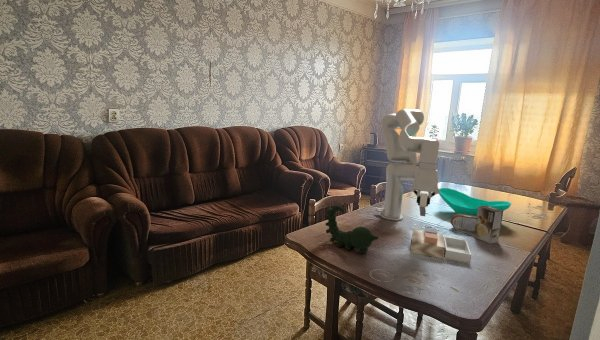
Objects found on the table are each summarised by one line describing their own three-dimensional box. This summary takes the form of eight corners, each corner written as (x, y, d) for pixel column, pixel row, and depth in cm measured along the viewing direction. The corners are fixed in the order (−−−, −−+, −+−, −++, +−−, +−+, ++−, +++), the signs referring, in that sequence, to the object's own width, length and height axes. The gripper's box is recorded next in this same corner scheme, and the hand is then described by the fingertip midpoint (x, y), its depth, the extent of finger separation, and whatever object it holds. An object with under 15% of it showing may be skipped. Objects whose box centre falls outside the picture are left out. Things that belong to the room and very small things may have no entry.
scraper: (419, 215, 139) (421, 197, 137) (418, 206, 154) (420, 189, 152) (426, 216, 138) (428, 198, 136) (424, 207, 153) (426, 190, 151)
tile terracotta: (424, 242, 135) (425, 236, 134) (424, 237, 139) (425, 232, 139) (437, 244, 133) (437, 238, 132) (436, 239, 138) (437, 234, 137)
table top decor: (426, 211, 193) (428, 191, 191) (446, 204, 211) (449, 185, 208) (497, 232, 164) (502, 208, 161) (514, 222, 181) (518, 200, 179)
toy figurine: (321, 246, 140) (372, 261, 124) (321, 205, 138) (373, 215, 122) (333, 240, 148) (383, 253, 132) (333, 201, 145) (383, 209, 129)
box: (444, 258, 131) (445, 250, 130) (442, 244, 146) (443, 236, 145) (470, 263, 128) (471, 254, 127) (465, 248, 142) (466, 240, 142)
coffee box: (498, 242, 151) (504, 210, 148) (489, 244, 149) (495, 211, 146) (481, 235, 160) (486, 205, 156) (472, 236, 157) (477, 206, 154)
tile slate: (424, 236, 141) (425, 231, 141) (424, 232, 146) (425, 227, 145) (436, 238, 139) (437, 233, 139) (435, 234, 144) (436, 229, 143)
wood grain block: (410, 252, 136) (412, 241, 135) (411, 238, 150) (413, 229, 149) (443, 258, 131) (445, 247, 130) (441, 244, 146) (442, 234, 145)
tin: (480, 231, 164) (483, 216, 163) (481, 233, 161) (484, 218, 160) (449, 227, 169) (451, 212, 167) (449, 229, 166) (452, 213, 164)
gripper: (408, 165, 141) (404, 204, 144) (448, 169, 136) (442, 209, 139) (408, 163, 148) (404, 200, 151) (446, 166, 143) (441, 205, 146)
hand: (422, 204), depth 145 cm, fingers closed on scraper, 3 cm apart
